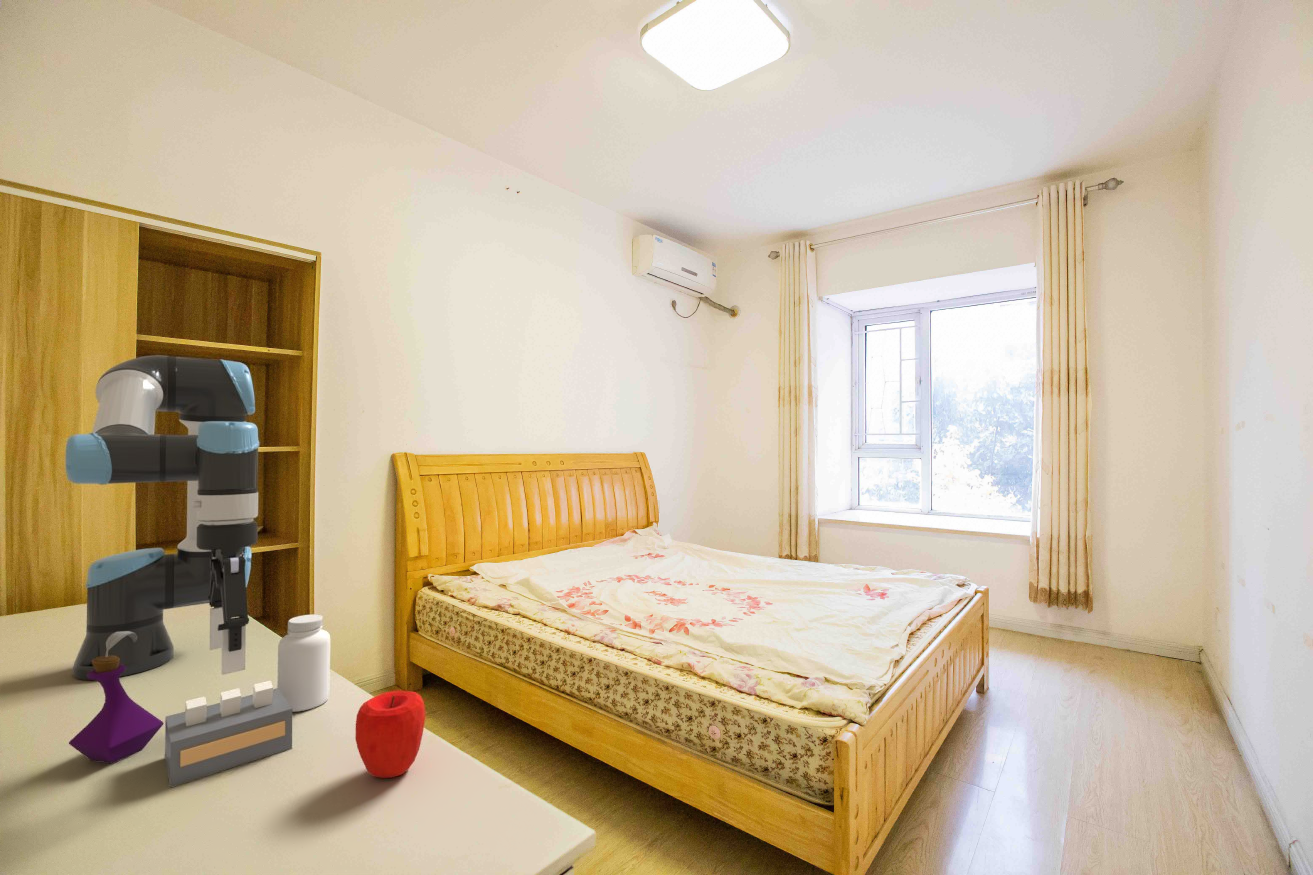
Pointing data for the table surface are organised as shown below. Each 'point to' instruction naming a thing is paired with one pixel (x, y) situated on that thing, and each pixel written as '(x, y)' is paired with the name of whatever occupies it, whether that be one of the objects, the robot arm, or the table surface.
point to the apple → (390, 732)
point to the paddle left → (195, 711)
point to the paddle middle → (230, 702)
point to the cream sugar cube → (262, 694)
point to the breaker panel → (226, 738)
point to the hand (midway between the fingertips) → (226, 659)
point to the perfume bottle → (115, 714)
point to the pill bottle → (304, 663)
